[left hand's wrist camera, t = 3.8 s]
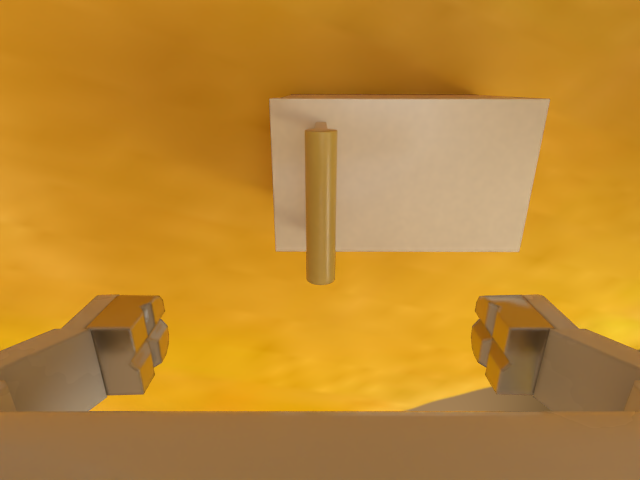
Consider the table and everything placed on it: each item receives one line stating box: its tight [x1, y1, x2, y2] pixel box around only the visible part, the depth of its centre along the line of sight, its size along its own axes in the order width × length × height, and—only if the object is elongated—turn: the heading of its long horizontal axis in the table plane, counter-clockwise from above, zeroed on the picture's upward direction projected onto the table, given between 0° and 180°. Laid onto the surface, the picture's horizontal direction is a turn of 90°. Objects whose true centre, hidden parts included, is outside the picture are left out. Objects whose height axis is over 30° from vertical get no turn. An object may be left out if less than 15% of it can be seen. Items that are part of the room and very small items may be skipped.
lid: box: [269, 98, 550, 285], centre depth 22 cm, size 17×10×8 cm, turn 90°
